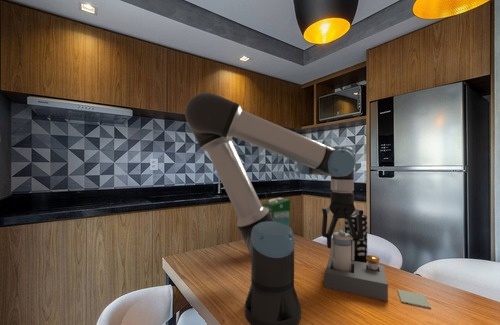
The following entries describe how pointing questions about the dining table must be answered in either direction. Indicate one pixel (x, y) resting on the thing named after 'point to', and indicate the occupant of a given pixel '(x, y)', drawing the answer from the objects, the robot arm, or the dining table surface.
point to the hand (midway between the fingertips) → (341, 257)
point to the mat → (413, 298)
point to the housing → (358, 280)
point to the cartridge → (342, 251)
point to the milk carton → (279, 210)
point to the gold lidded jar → (372, 262)
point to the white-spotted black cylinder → (361, 243)
